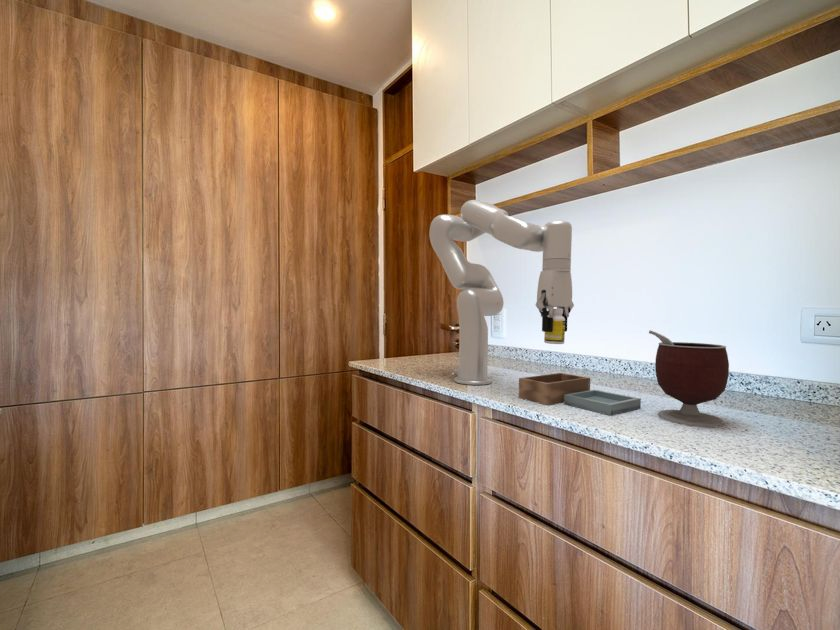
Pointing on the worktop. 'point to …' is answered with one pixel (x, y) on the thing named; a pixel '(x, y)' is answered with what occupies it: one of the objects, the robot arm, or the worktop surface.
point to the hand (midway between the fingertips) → (554, 330)
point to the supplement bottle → (556, 328)
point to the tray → (602, 402)
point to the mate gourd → (691, 378)
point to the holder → (551, 387)
